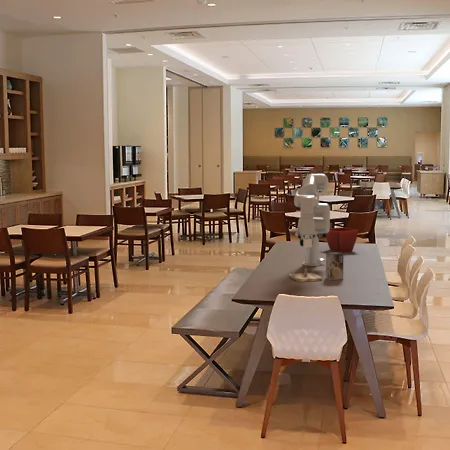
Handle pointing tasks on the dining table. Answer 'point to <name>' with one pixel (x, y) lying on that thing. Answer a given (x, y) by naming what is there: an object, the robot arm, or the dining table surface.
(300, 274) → the pin plate
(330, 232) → the plant pot
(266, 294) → the dining table surface
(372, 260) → the dining table surface
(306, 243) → the jaw block
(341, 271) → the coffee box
